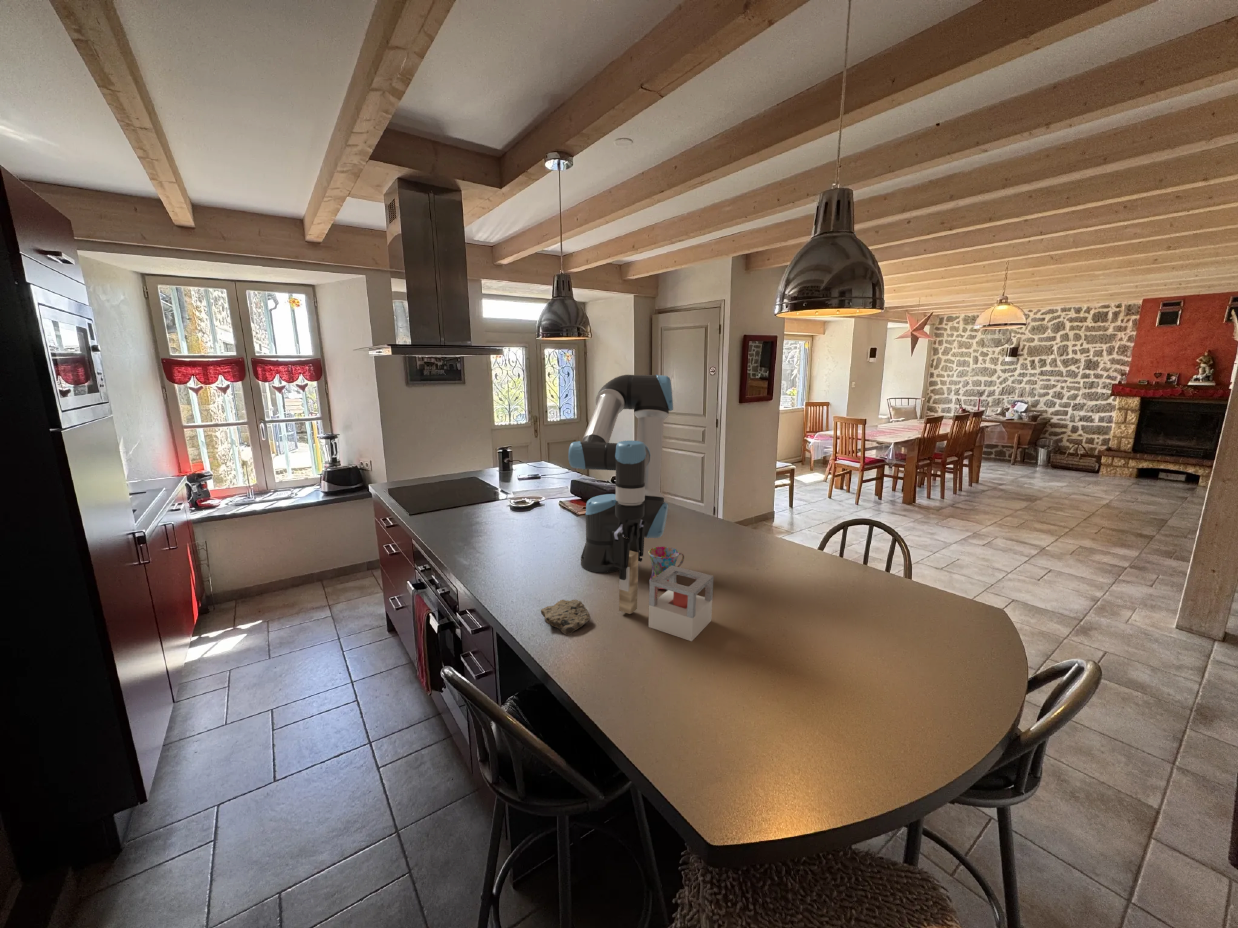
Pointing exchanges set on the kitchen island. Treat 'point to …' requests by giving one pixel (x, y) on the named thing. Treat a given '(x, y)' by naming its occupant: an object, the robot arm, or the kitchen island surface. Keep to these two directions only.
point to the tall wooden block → (630, 587)
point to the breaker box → (679, 617)
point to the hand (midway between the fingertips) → (628, 586)
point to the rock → (566, 615)
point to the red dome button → (680, 600)
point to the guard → (682, 586)
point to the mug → (663, 560)
